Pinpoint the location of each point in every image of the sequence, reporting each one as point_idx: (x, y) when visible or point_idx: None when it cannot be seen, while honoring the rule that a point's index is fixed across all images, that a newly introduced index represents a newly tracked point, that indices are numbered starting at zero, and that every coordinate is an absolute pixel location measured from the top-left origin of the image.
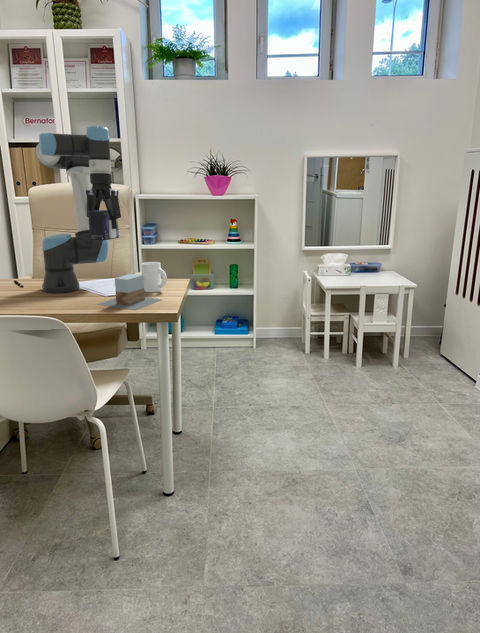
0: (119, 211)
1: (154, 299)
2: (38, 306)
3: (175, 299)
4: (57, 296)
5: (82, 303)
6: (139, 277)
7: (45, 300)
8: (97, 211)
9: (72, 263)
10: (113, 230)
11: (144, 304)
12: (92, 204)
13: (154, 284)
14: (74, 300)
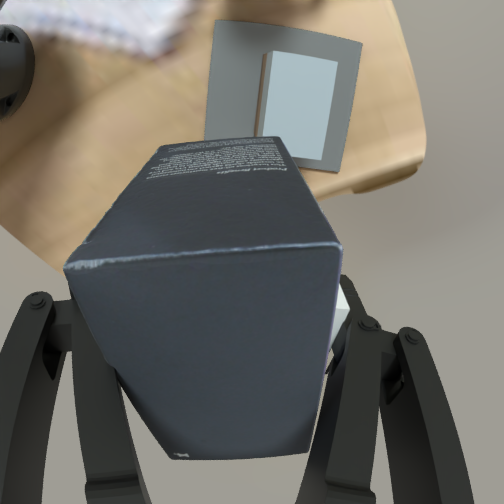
0: (431, 379)
1: (337, 48)
2: (82, 227)
3: (387, 23)
4: (40, 133)
5: (150, 157)
6: (332, 89)
7: (49, 179)
8: (261, 457)
9: None
10: None
11: (336, 110)
12: (27, 420)
13: None
14: (106, 141)
